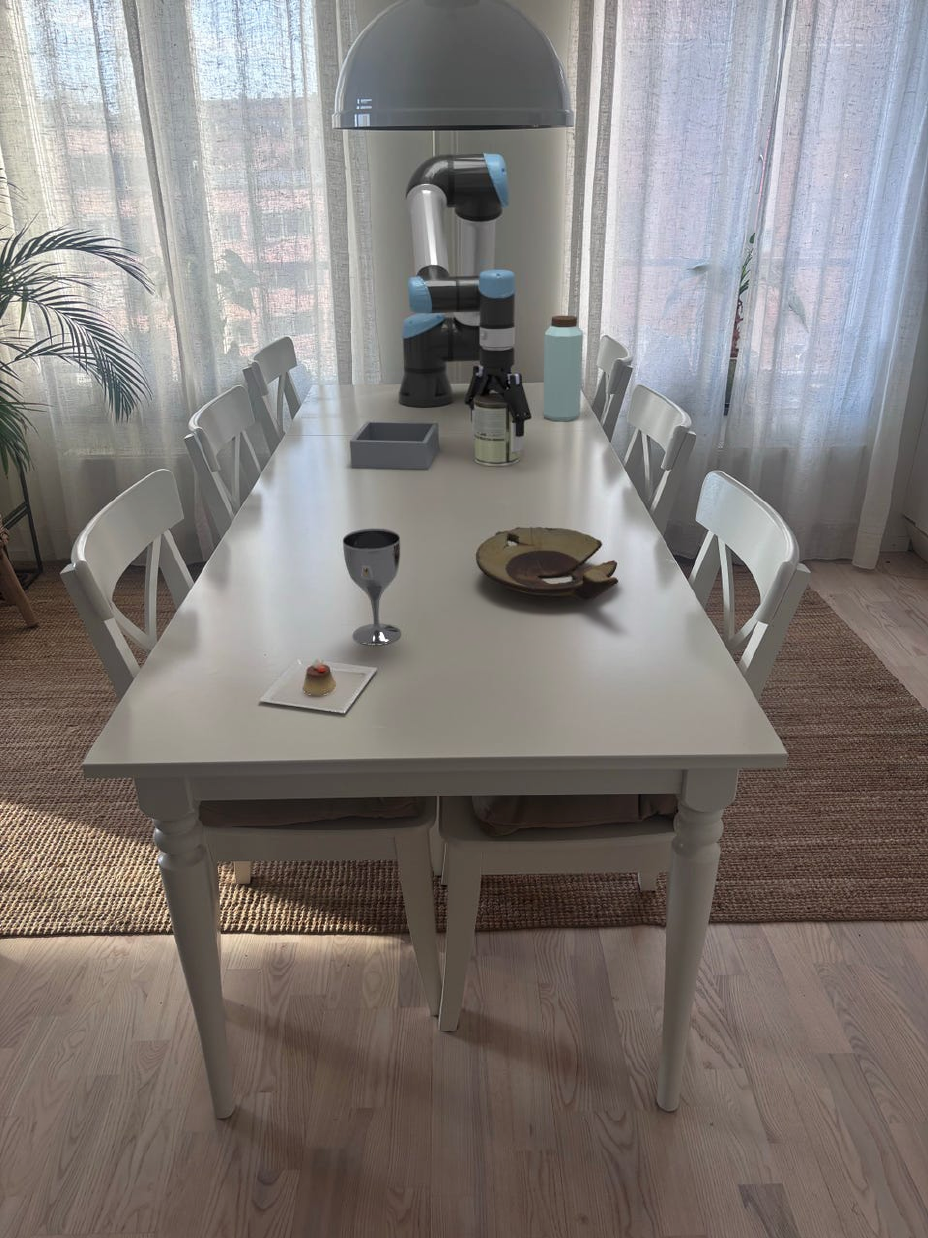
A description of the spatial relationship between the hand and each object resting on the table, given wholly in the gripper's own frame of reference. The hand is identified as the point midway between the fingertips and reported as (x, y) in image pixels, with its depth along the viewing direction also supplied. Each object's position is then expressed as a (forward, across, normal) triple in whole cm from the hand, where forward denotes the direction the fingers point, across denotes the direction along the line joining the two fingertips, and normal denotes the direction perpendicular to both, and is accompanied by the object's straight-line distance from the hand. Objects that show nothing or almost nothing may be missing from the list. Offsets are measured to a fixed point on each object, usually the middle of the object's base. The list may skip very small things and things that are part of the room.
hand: (496, 444), depth 219 cm
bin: (+4, -16, -16) cm, 23 cm away
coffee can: (+4, 0, 0) cm, 4 cm away
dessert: (+5, +64, -83) cm, 105 cm away
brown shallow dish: (+4, +59, -38) cm, 71 cm away
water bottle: (+4, -18, +37) cm, 41 cm away
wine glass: (+4, +56, -68) cm, 88 cm away
